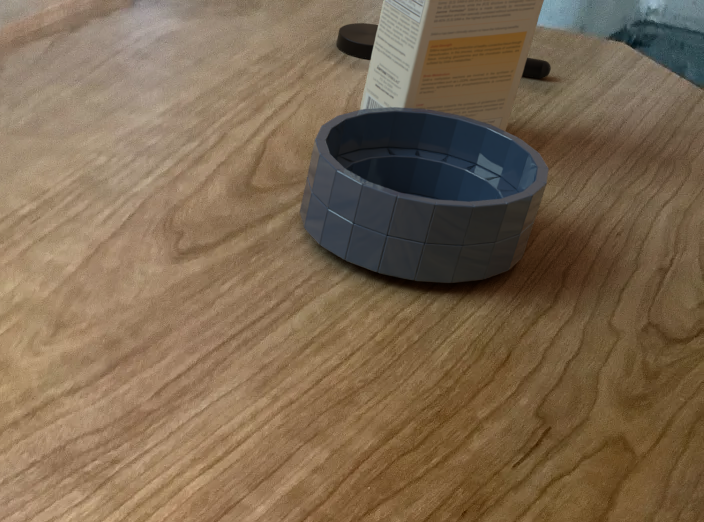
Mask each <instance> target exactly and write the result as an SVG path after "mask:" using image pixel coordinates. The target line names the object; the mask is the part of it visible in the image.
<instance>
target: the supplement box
mask: <svg viewBox="0 0 704 522" xmlns="http://www.w3.org/2000/svg"><path fill="white" fill-rule="evenodd" d="M544 1H545V0H383V2H382V5H381V10H380V14H379V15H380V16H379V20H378V24H377V25H378V28H377V33H376V37H375V42H374V47H373V51H372V56H371V59H370V61H369V65H368V70H367V74H366V80H365V84H364V88H363V94H362V98H361V102H360V107H359V110H361V109H362V110H363V109H373V108H386V107H400V108H416V109H426V110H427V109H428V110H434V111H439V112H445V113H450V114H456V115H460V116H464V117H467V118H471V119H474V120H477V121H480V122H483V123H487V124H490V125H492V126H495V127H497V128H499V129H501V130H503V131H506V130H507V128H508V124H509V121H510V117H511V114H512V111H513V107H514V103H515V100H516V97H517V95H518V94H517V93H518V90H519V87H520V83H521V80H522V77H523V75H522V74H523V70H524V67H525V63H526V60H527V58H528V57H529V52H530V49H531V45H532V43H533V39H534V35H535V31H536V28H537V25H538V22H539V17H540V15H541V11H542V8H543V5H544ZM506 132H507V131H506Z"/></svg>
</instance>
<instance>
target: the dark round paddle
mask: <svg viewBox="0 0 704 522" xmlns="http://www.w3.org/2000/svg"><path fill="white" fill-rule="evenodd" d="M377 28H378V24H374V23H366V22H365V23H364V22H357V23H348V24H344V25H342V26H341V27H339V29H338V33H337V38H336V43H335V45H336V47H337V48H338V50H339V51H341V52H343V53H344V54H347V55H349V56H353V57H355V58H359V59H366V60H371V56H372V51H373V47H374V42H375V37H376V33H377ZM551 69H552V67H551V64H550V62H549V61H547V60H545V59H539V58H534V57H533V58H532V57H527V60H526V63H525V67H524V70H523V74H522V77H523V76H524V77H530V78H535V79H545V78H547V77H548V76H549V75H550V73H551Z"/></svg>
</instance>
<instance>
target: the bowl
mask: <svg viewBox="0 0 704 522" xmlns="http://www.w3.org/2000/svg"><path fill="white" fill-rule="evenodd" d="M549 170H550V169H549V167H548V165H547V164H546V162H545V160H544V158H543V157H542V154H541V153H540V152H538V151H537V150H536V149H534V147H532V146H531V145H529V144H528V143H527V142H526V141H524V140H523V139H521V138H520V137H518V136H517V135H514V134H512V133H509V132H508V131H503V130H501V129H499V128H497V127H495V126H492V125H490V124H487V123H483V122H480V121H477V120H474V119H471V118H467V117H464V116H460V115H456V114H450V113H445V112H439V111H434V110H428V109H427V110H426V109H416V108H400V107H386V108H373V109H363V110H362V109H361V110H360V109H358V110H354V111H351V112H350V111H349V112H347V113H346V112H345V113H342V114H339V115H336V116H335V117H333V118H331V119H330V120H328V121H327V122H325V123H324V124H322V125H320V128H319V130H318V132H317V134H316V136H315V138H314V142H313V147H312V151H311V156H310V162H309V166H308V171H307V176H306V180H305V184H304V190H303V195H302V198H301V199H302V200H301V204H300V209H299V215H300V218H301V223H302V225H303V228H304V230H305V231H306V232H307V233H308V235H309V236H311V238H312V239H313V240H314V241H315V242H316V243H317V244H318V245H319V246H321V247H322V248H323V249H325V250H326V251H328V252H330V253H332V254H333V255H335V256H337V257H339V258H340V259H342V260H343V261H346V262H348V263H350V264H353V265H356V266H358V267H361V268H364V269H366V270H368V271H369V270H370V271H371V272H375V273H377V274H380V275H381V274H382V275H385V276H389V277H391V278H397V279H403V280H408V281H414V282H424V283H425V282H428V283H443V284H453V283H454V284H455V283H464V282H465V283H466V282H473V281H483V280H487V279H489V278H492V277H494V276H497V275H501V274H502V273H506V272H508V271H510V270H511V269H512V268H513V267H514V266H515V265H516V264H517V263H518V262H519V261H520V260H522V259H523V257H524V254H525V251H526V248H527V245H528V242H529V239H530V236H531V233H532V230H533V227H534V223H535V221H536V217H537V215H538V211H539V208H540V205H541V202H542V199H543V196H544V193H545V190H546V188H547V184H548V177H549V172H550V171H549Z"/></svg>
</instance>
